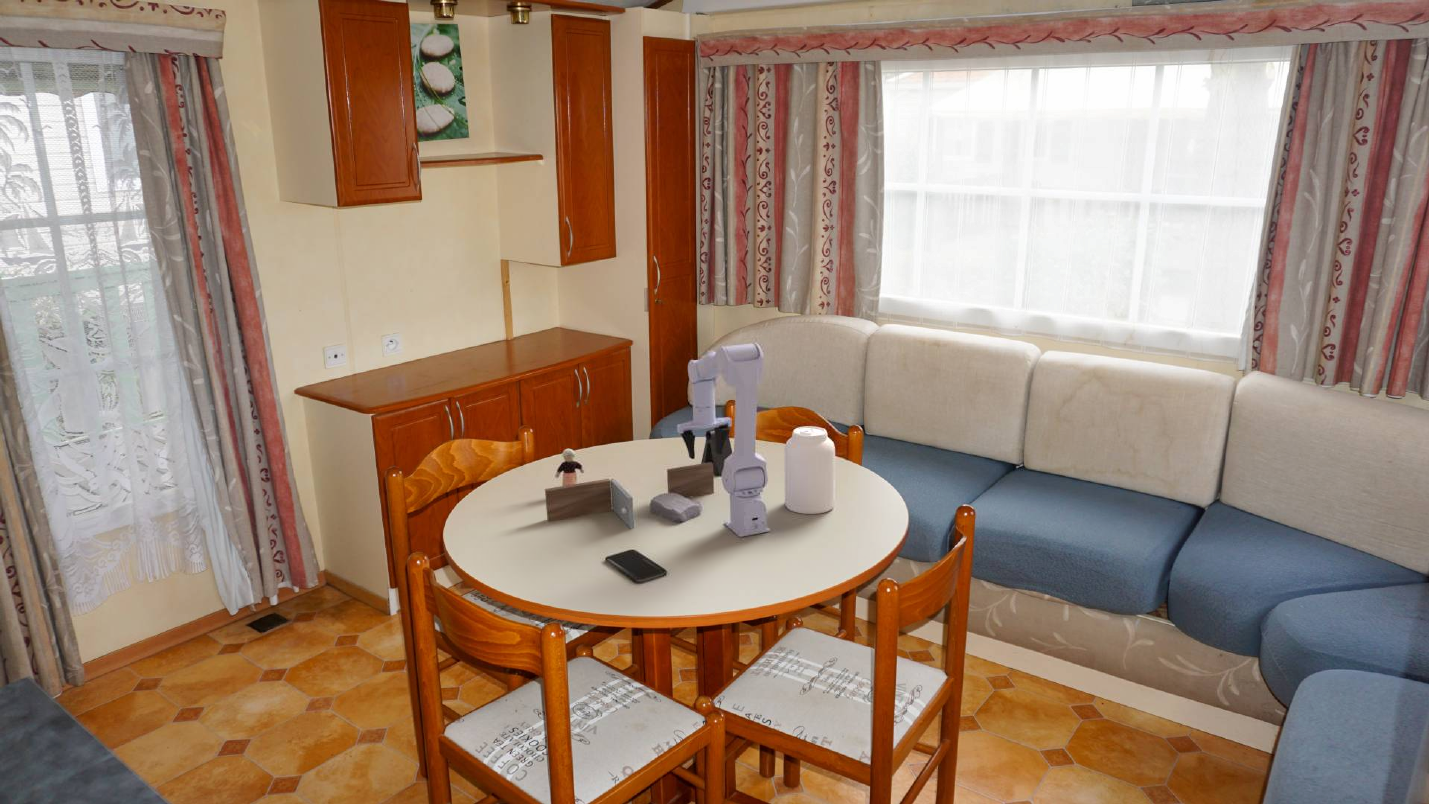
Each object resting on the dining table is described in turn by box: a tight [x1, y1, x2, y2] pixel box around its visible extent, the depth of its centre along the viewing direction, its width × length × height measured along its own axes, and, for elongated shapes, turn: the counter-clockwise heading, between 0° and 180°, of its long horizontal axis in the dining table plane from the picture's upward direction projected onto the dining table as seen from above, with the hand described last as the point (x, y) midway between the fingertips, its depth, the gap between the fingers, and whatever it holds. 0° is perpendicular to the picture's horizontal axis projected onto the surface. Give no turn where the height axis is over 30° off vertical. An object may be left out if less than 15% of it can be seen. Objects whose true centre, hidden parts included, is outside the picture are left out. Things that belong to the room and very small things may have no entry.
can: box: [784, 425, 836, 515], centre depth 245 cm, size 12×12×20 cm
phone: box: [604, 549, 668, 585], centre depth 215 cm, size 8×1×15 cm
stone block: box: [649, 492, 703, 523], centre depth 245 cm, size 12×5×10 cm
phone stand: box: [700, 428, 733, 477], centre depth 273 cm, size 9×6×12 cm, turn 36°
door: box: [610, 478, 635, 529], centre depth 241 cm, size 15×2×8 cm, turn 23°
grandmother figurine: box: [554, 448, 585, 486], centre depth 258 cm, size 8×4×13 cm, turn 123°
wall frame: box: [544, 462, 715, 522], centre depth 249 cm, size 2×44×8 cm, turn 113°
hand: (705, 455), depth 256 cm, fingers open, 7 cm apart
